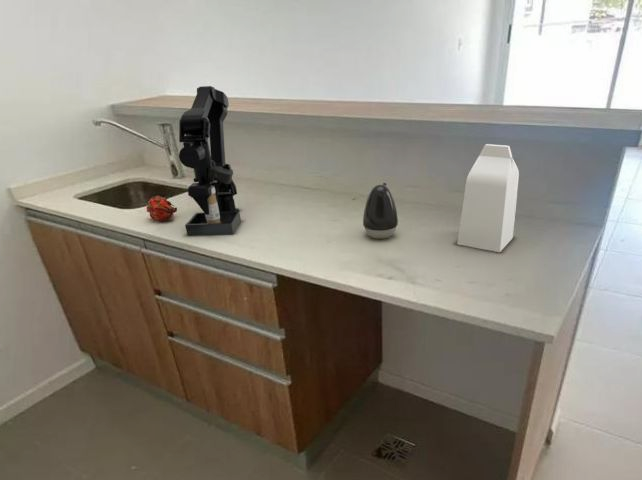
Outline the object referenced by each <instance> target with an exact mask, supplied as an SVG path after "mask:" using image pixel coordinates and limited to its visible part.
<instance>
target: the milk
mask: <svg viewBox="0 0 642 480" xmlns="http://www.w3.org/2000/svg"><path fill="white" fill-rule="evenodd" d="M519 178H520V172H519V167H518V166H517V164H516V161H515V160H514V157H513V153H512V150H511V146H510V145H504V144H492V143H486V144H484V146H483V148H482V149H481V151H480V153H479V155H478V157H477V158H476V159H475V162H474V164H473V166H472V167H471V169H470V170H469V172H468V175H467V178H466V181H465V187H464V196H463V201H462V207H461V208H462V209H461V216H460V223H459V230H458V236H457V242H456V245H459V246H463V247H469V248H475V249H481V250H485V251H490V252H496V253H501V252H502V251H503V250H504V249H505V247H506V246H507V245H508V244H509V243H510V242H511V241H512V240H513V238H514V229H515V220H516V219H515V218H516V209H517V201H518V189H519V180H520V179H519Z"/></svg>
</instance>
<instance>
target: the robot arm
mask: <svg viewBox="0 0 642 480" xmlns="http://www.w3.org/2000/svg"><path fill="white" fill-rule="evenodd" d="M229 107H230V105H229V98H228V96H227V95H226V93H225V92H224V91H221V90H220V89H216V88H215V87H214V86H211V85H205V86H203V85H202V86H199V87H197V88H196V95H195V98H194V99H193V102H192V105H191V108H190V109H188V110H185V111H184V112H183V113H182V114H181V117H180V119H179V124H178V125H179V126H178V127H179V128H178V129H179V132H178V133H179V134H178V142H179V143H182V144H183V147H182V148H181V149H180V150H179V153H178V159H179V162H180V163H181V164H182V165H183V166H184V167H186V168H189V169H193V173H194V178H193V183H191V184H190V185H189V186H188V188H187V189H186V191H187V196H188V197H190V198H191V199H193V200H194V201H195V203H196V204H197V205H198V207H199V208H200V209H201V210H202V212H204V213H205V214H206V215H209V197H210V196H211V194H212V193H211V191H212V188H211V186H214V187H215V195H216V200H217V204H218V209H219V212H229V211H239V212H240V209H239V208H237V207H236V204H235V199H234V196H235V195H238V190H237V185H236V184H235V182H234V180H233V175H234V170H233V169H232V167H231V164H230V163H226V150H225V135H224V134H225V132H224V122H225V119H226V118H227V116H228V108H229ZM208 140H209V141H208Z"/></svg>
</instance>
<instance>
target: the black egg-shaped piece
mask: <svg viewBox="0 0 642 480" xmlns="http://www.w3.org/2000/svg"><path fill="white" fill-rule="evenodd" d="M362 216H363V218H362V226H363V228H364V230H365V233H366V234H367V235H368V236H369V237H371V238H373V239H377V240H382V239H388V238H389V237H391V236H393V235H394V233H395V232H396V230H397V227H398V225H399V219H398V218H399V217H398V211H397V207H396V202H395V199H394V196H393V194H392V191H391V190H390V189H389V187H388V186H387V183H386V182H383V183H382V184H376V185H374V186H373V187H372V188H371V190H370V192H369V193H368V196H367V198H366V203H365V207H364V211H363V215H362Z"/></svg>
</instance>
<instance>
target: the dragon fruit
mask: <svg viewBox="0 0 642 480" xmlns="http://www.w3.org/2000/svg"><path fill="white" fill-rule="evenodd" d="M177 211H178V207H175V205H173V204H172V202H171V201H170V200H168V198H166V197H165V196H164V197H162V196H160V195H155V196H152V197H151V198H150V199H149V200H148V202H147V206H146V212H147V213H148V214H149V216H150V218H151V219H152V220H153V221H154V220H156V219H157V220H158V221H160V222H164V223H165V222H168V220H167V219H169V218H171V219H172V218H173V217H174V216H175V215H174V213H176V212H177Z"/></svg>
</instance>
